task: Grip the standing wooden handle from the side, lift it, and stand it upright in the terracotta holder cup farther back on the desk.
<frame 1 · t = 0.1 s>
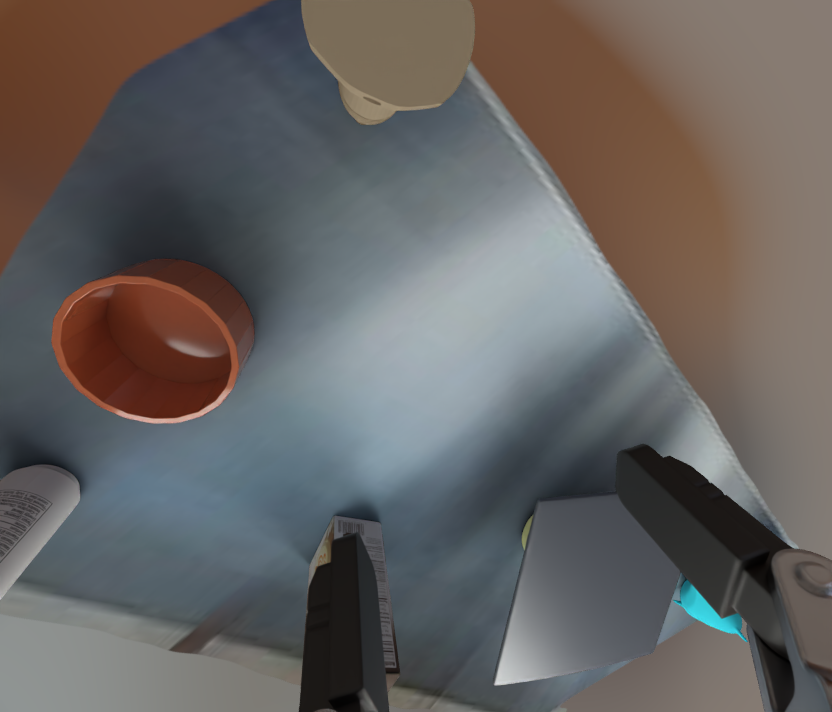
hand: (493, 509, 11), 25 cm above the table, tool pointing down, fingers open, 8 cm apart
graduation cap: (556, 521, 52), on the table
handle: (366, 100, 27), on the table
coffee box: (345, 541, 46), on the table
energy drink can: (50, 482, 35), on the table
holder: (182, 326, 31), on the table
toy shark: (687, 573, 65), on the table
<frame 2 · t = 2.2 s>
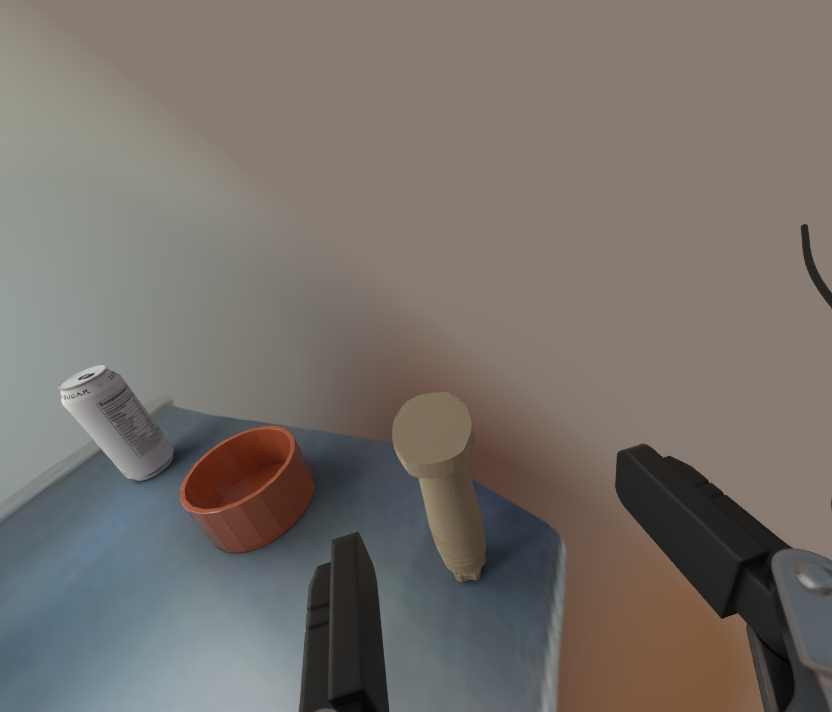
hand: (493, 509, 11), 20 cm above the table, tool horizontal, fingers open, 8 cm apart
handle: (467, 565, 30), on the table
energy drink can: (154, 467, 50), on the table
holder: (263, 502, 40), on the table
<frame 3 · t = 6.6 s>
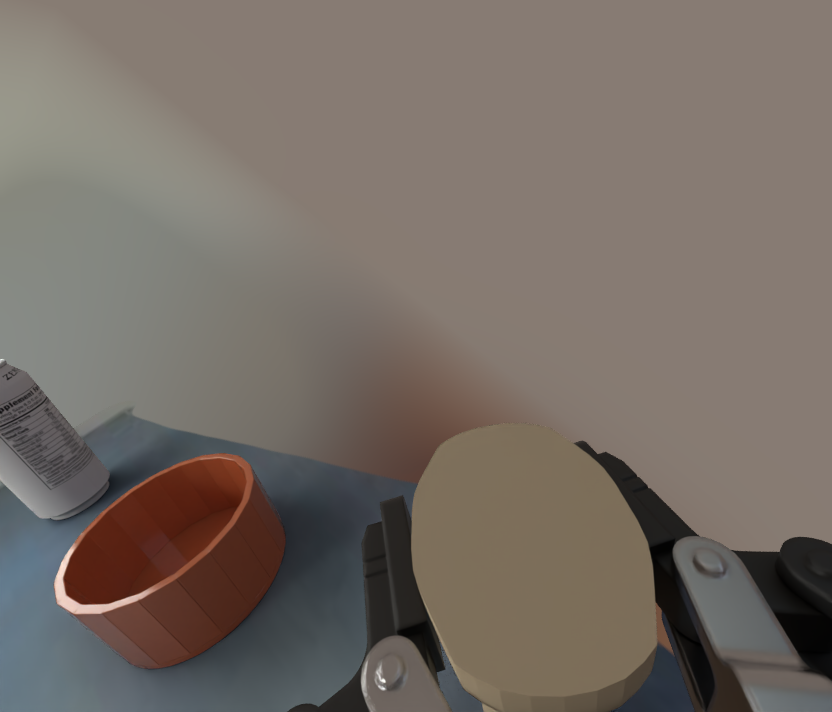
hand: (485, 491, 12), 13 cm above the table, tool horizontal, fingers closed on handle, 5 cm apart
energy drink can: (82, 500, 37), on the table
holder: (207, 572, 26), on the table
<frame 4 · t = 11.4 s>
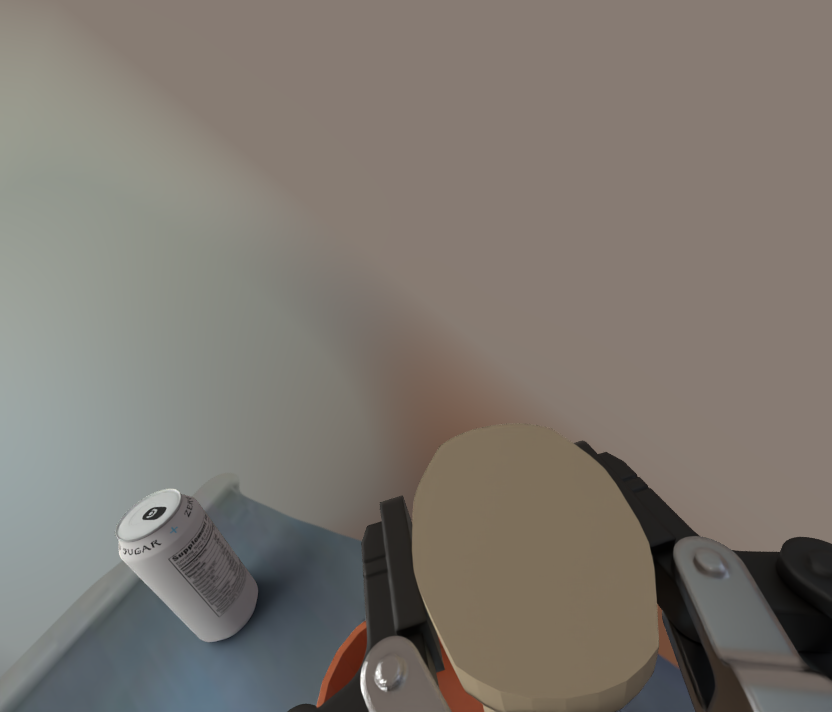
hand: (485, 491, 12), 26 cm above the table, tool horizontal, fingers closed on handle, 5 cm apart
energy drink can: (232, 612, 37), on the table
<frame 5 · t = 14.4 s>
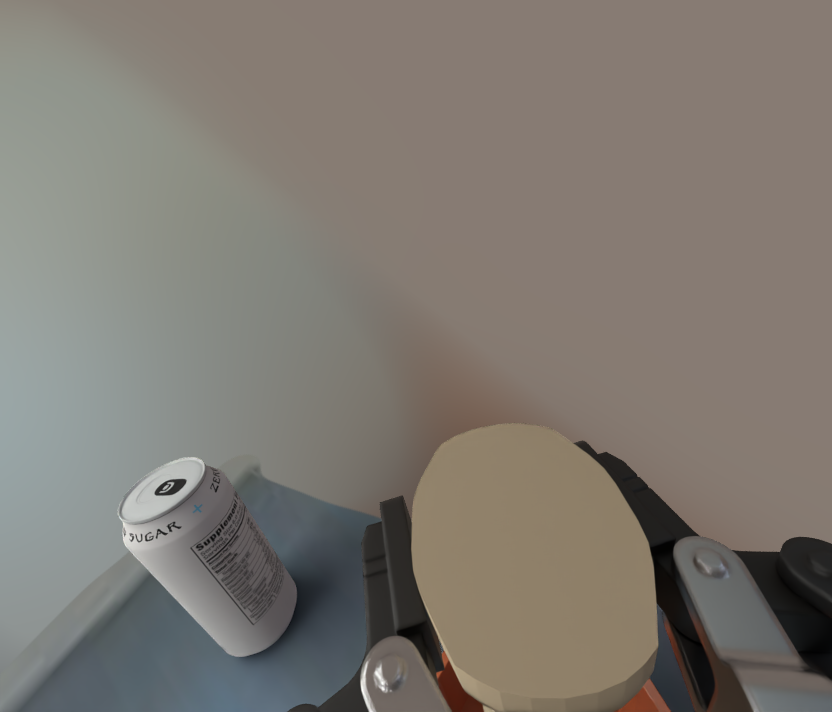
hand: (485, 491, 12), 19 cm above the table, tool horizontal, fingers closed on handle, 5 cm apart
energy drink can: (265, 618, 29), on the table
when the fingers open (14 cm above the table, at t = 16.5 s): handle stays where it is, resting on holder.
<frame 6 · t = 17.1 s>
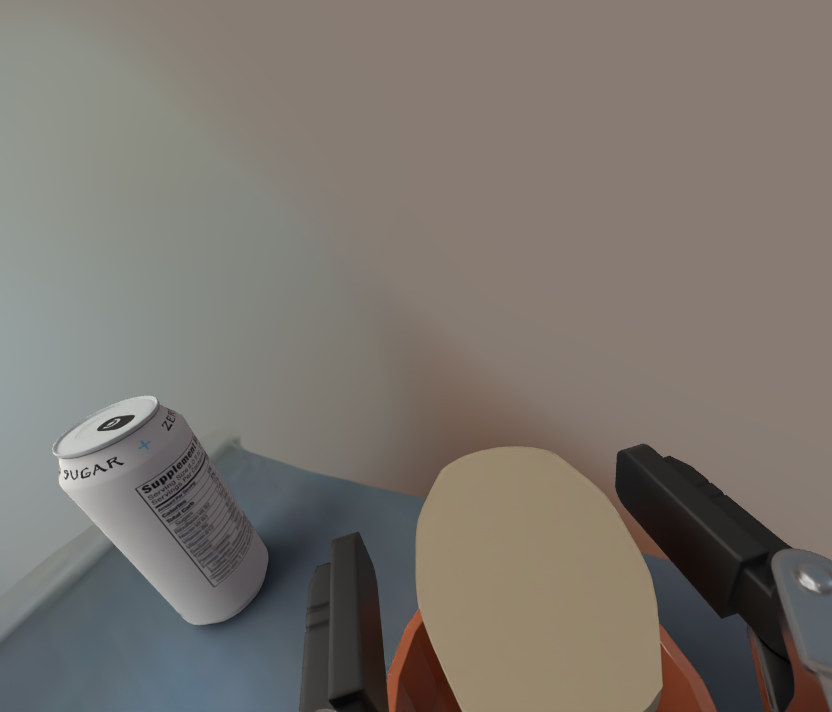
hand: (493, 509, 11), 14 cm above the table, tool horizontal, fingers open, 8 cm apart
energy drink can: (232, 586, 26), on the table
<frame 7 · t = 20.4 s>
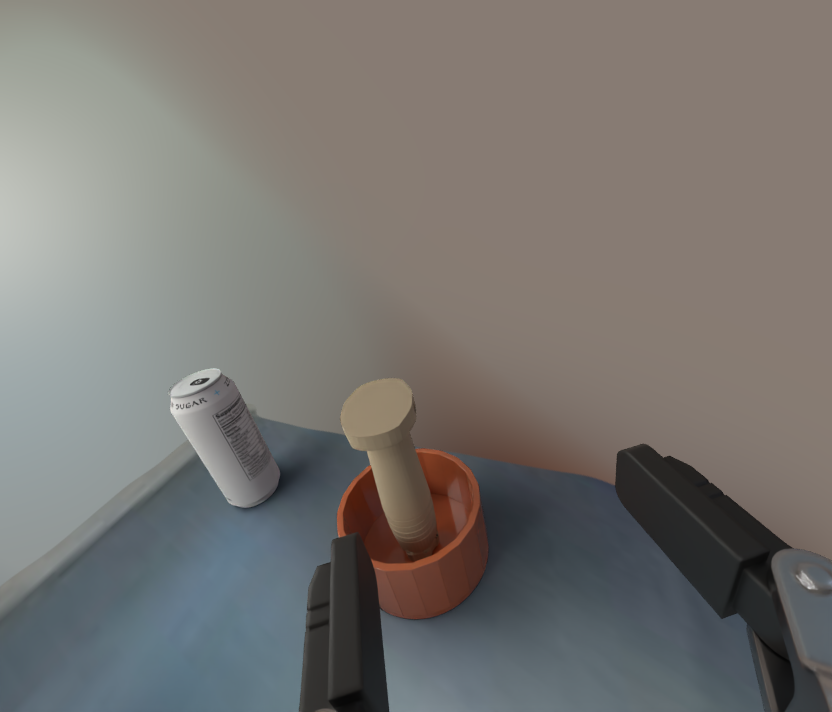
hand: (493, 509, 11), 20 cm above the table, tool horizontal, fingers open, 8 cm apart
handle: (421, 547, 32), resting on holder
energy drink can: (257, 491, 43), on the table
holder: (422, 546, 32), on the table
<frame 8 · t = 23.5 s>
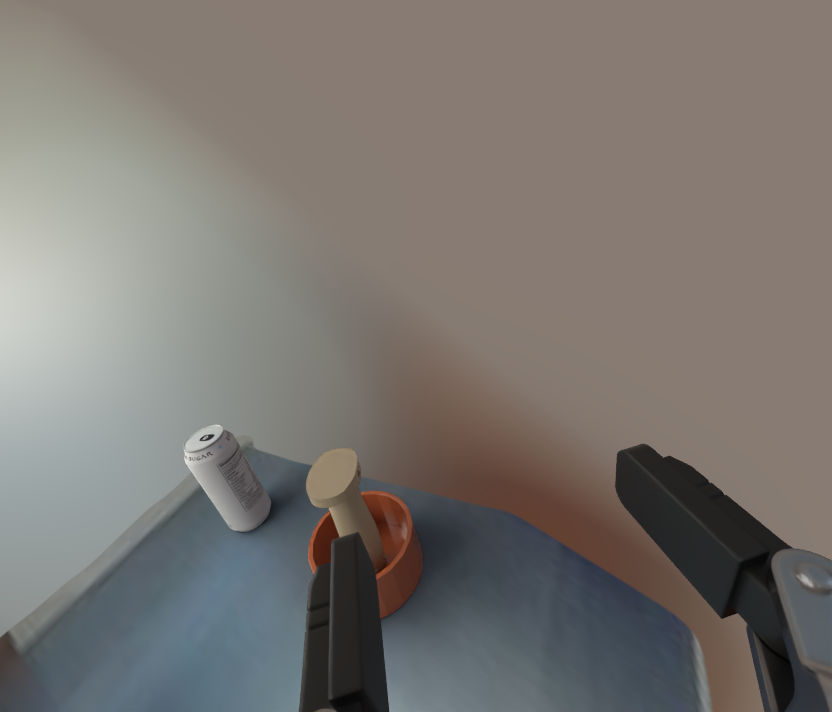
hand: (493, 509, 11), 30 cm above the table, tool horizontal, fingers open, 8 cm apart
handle: (373, 567, 42), resting on holder
energy drink can: (253, 517, 53), on the table
holder: (374, 566, 42), on the table
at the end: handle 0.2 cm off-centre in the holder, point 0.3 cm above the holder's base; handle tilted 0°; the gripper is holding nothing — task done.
